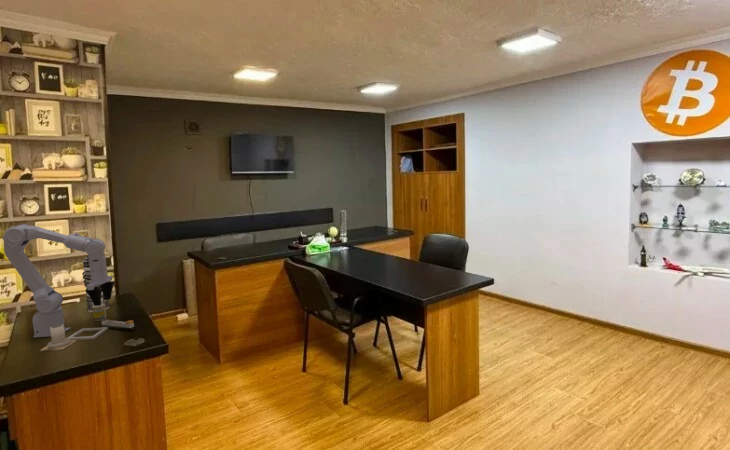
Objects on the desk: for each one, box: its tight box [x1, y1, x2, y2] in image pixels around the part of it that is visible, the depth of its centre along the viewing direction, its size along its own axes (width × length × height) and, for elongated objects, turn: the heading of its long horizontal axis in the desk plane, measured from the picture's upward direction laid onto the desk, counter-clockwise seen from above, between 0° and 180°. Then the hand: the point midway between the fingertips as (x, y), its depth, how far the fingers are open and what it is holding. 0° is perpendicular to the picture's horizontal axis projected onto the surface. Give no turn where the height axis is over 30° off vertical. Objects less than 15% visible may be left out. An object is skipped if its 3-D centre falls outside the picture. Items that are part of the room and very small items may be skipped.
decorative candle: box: [81, 255, 110, 313], centre depth 194 cm, size 9×9×25 cm
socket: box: [67, 326, 109, 341], centre depth 164 cm, size 10×10×1 cm
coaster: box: [39, 340, 78, 352], centre depth 154 cm, size 8×8×1 cm
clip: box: [100, 318, 135, 329], centre depth 169 cm, size 3×16×2 cm, turn 69°
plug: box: [46, 324, 71, 349], centre depth 154 cm, size 7×7×7 cm
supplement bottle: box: [92, 299, 108, 322], centre depth 181 cm, size 5×5×8 cm
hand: (102, 302), depth 172 cm, fingers open, 7 cm apart
